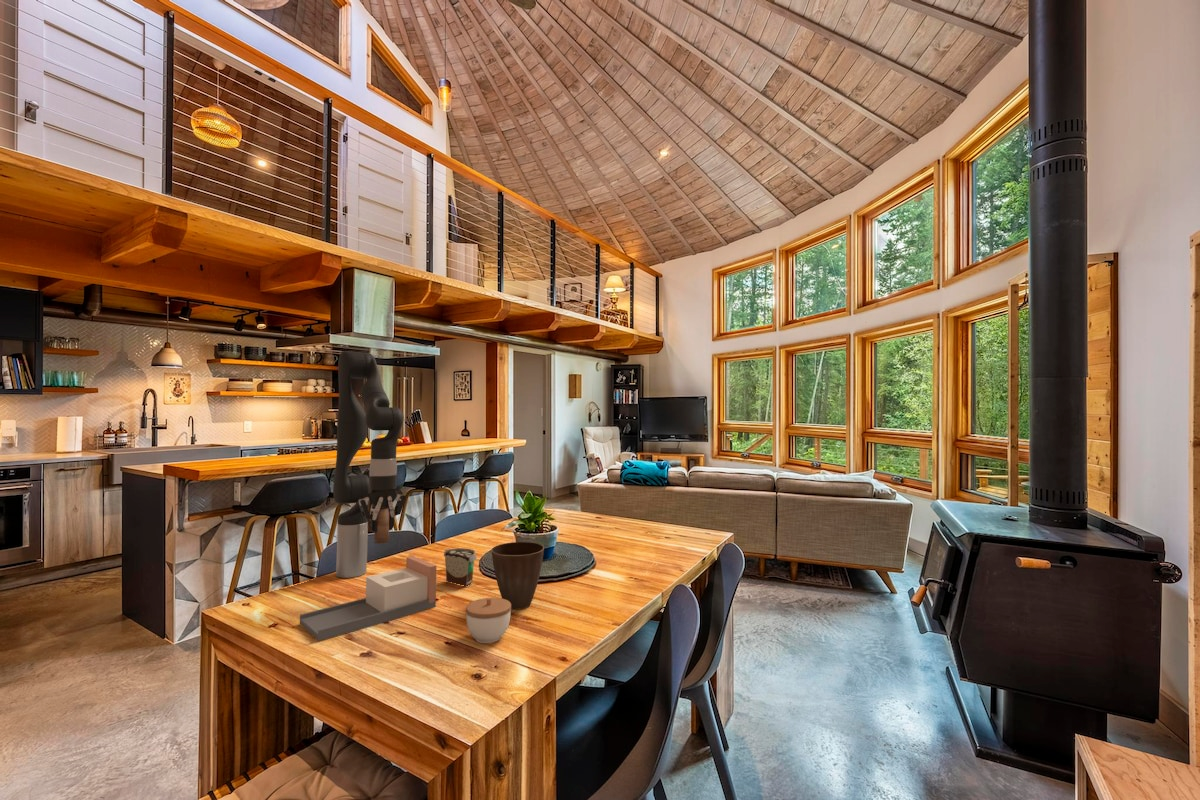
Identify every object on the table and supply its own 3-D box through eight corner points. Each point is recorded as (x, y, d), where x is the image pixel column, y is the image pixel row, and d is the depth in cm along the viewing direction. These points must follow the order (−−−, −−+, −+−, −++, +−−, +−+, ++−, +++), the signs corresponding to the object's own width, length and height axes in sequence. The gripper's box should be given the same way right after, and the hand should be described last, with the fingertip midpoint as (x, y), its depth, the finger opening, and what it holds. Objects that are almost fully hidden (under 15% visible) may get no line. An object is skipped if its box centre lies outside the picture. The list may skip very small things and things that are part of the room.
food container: (484, 582, 160) (484, 551, 160) (469, 588, 154) (470, 556, 155) (457, 576, 166) (458, 546, 167) (443, 581, 161) (443, 550, 161)
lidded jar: (463, 632, 123) (463, 594, 123) (506, 625, 127) (506, 588, 127) (468, 651, 113) (469, 609, 113) (514, 643, 117) (515, 603, 117)
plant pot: (496, 618, 131) (497, 557, 132) (485, 599, 145) (486, 544, 146) (550, 610, 138) (551, 552, 138) (534, 592, 151) (535, 539, 152)
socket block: (365, 602, 138) (366, 576, 138) (407, 591, 146) (407, 567, 147) (384, 614, 129) (385, 587, 130) (427, 602, 138) (427, 576, 139)
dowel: (372, 541, 148) (372, 508, 148) (385, 539, 151) (386, 506, 151) (377, 544, 145) (378, 510, 145) (391, 541, 148) (391, 508, 148)
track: (299, 624, 126) (301, 578, 127) (411, 594, 148) (412, 555, 149) (318, 641, 117) (320, 592, 117) (435, 606, 139) (436, 565, 139)
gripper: (400, 470, 156) (399, 525, 156) (353, 474, 146) (352, 532, 145) (411, 472, 151) (410, 529, 151) (363, 476, 141) (361, 537, 140)
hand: (381, 530), depth 148 cm, fingers closed on dowel, 4 cm apart
